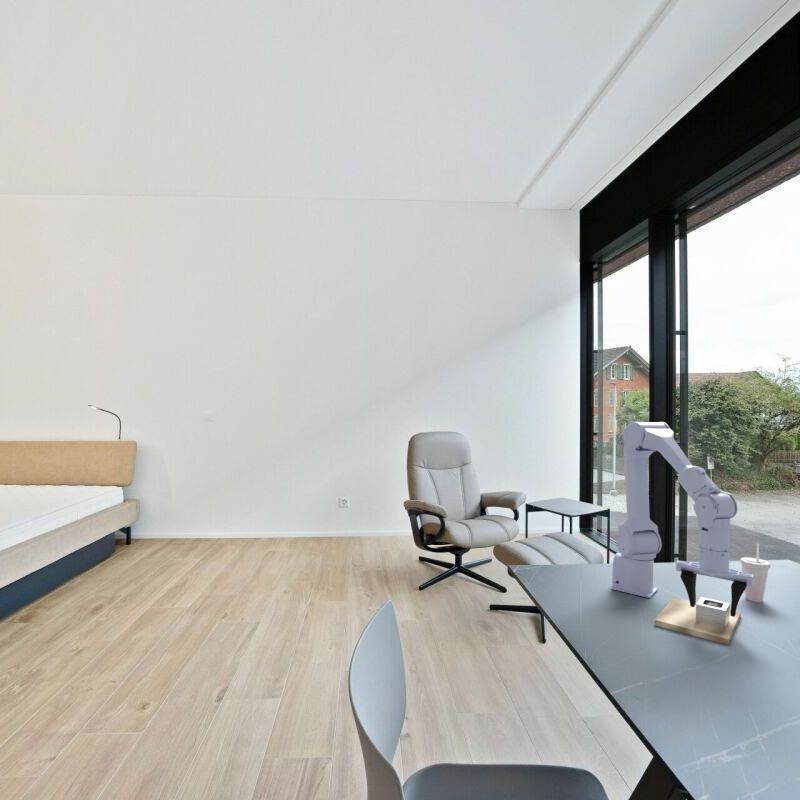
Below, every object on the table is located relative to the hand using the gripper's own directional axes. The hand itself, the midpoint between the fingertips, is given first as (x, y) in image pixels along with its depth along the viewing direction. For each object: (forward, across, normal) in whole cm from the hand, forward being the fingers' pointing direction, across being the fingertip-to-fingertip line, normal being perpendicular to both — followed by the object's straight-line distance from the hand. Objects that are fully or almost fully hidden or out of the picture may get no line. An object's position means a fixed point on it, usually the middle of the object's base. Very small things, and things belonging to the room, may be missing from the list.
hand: (712, 610), depth 117 cm
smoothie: (+4, +5, +27) cm, 28 cm away
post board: (+4, -3, +2) cm, 5 cm away
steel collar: (+3, 0, 0) cm, 3 cm away
